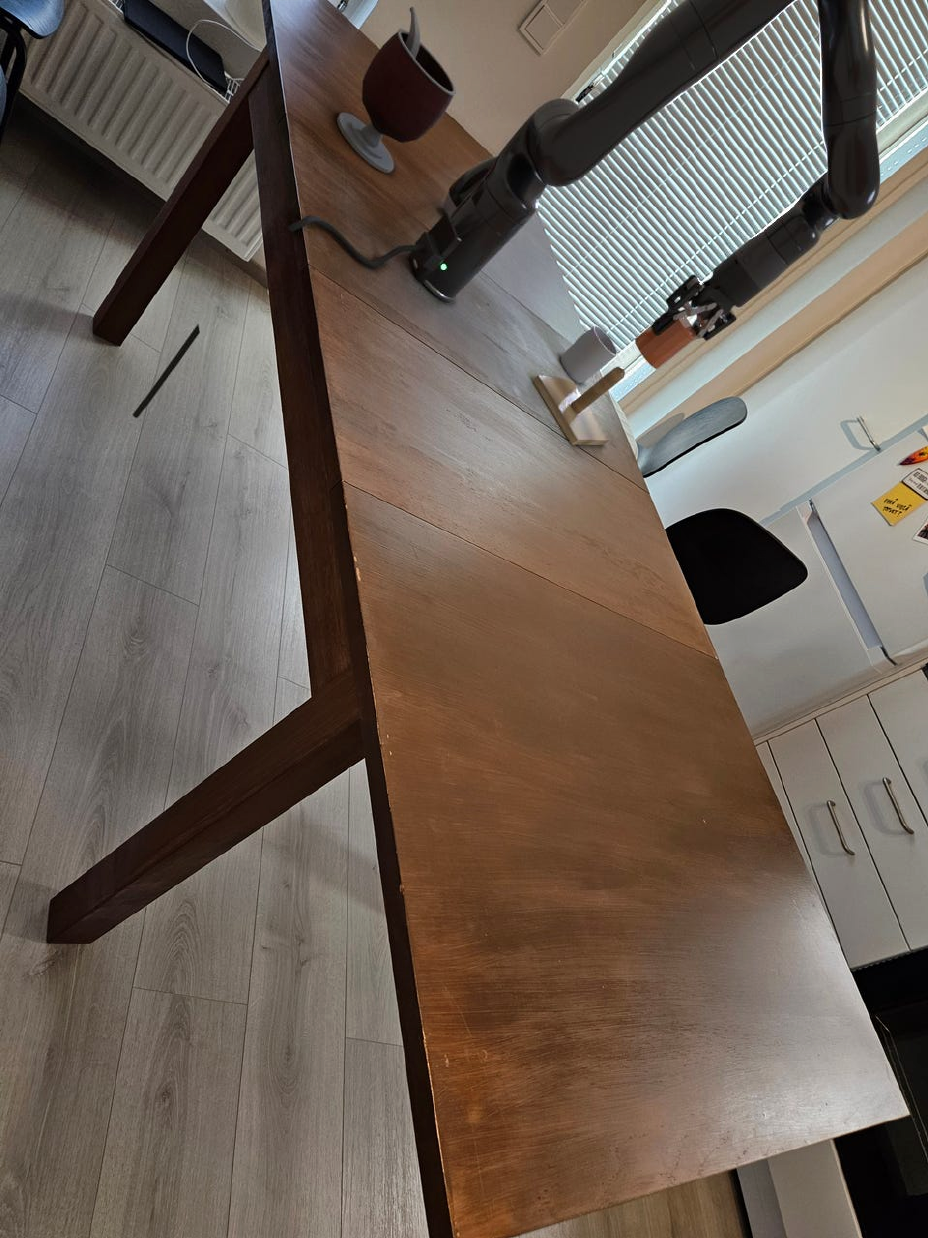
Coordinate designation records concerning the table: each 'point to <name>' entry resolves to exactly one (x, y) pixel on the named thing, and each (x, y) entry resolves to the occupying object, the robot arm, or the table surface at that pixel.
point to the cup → (588, 354)
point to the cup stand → (577, 406)
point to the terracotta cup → (665, 342)
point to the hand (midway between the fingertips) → (664, 339)
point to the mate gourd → (398, 97)
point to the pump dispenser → (467, 184)
